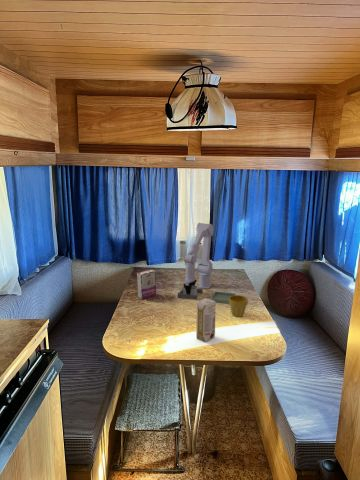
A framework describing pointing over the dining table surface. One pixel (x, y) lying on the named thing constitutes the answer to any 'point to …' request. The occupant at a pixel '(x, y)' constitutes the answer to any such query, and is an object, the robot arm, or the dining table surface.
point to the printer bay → (181, 295)
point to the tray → (221, 297)
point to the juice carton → (205, 320)
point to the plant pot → (238, 305)
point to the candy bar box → (146, 284)
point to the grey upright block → (193, 290)
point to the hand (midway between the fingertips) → (190, 292)
